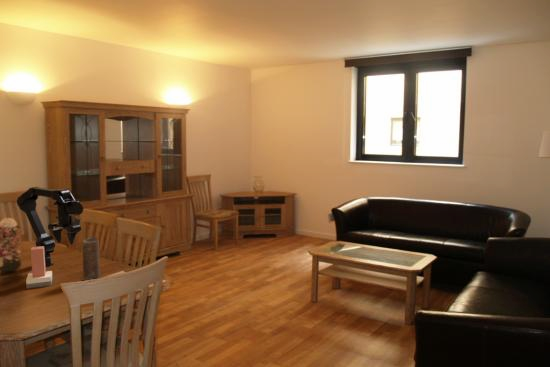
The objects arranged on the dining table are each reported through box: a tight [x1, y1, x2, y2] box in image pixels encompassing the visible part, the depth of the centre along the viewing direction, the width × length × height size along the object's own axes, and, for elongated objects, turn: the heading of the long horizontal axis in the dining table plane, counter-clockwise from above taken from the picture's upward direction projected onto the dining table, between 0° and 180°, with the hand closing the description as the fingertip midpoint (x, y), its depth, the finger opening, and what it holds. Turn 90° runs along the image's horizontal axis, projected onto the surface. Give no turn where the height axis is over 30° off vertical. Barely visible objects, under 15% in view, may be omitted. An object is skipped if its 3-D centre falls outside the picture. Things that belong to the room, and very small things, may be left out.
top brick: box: [30, 246, 47, 277], centre depth 208 cm, size 5×5×13 cm
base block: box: [25, 270, 53, 289], centre depth 209 cm, size 10×10×4 cm
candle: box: [81, 237, 101, 281], centre depth 213 cm, size 8×7×20 cm
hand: (65, 243), depth 231 cm, fingers open, 9 cm apart
